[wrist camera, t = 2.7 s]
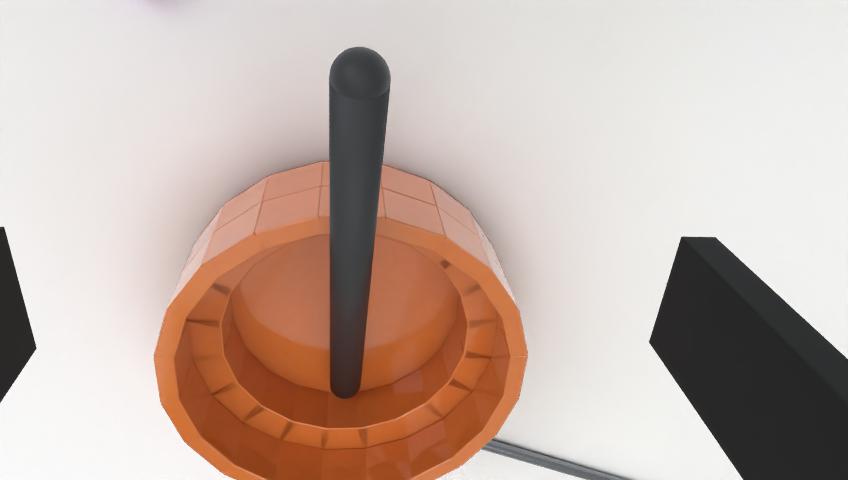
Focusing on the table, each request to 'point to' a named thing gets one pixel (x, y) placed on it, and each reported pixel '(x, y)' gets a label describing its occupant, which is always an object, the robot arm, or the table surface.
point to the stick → (353, 203)
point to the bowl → (310, 338)
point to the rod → (546, 461)
